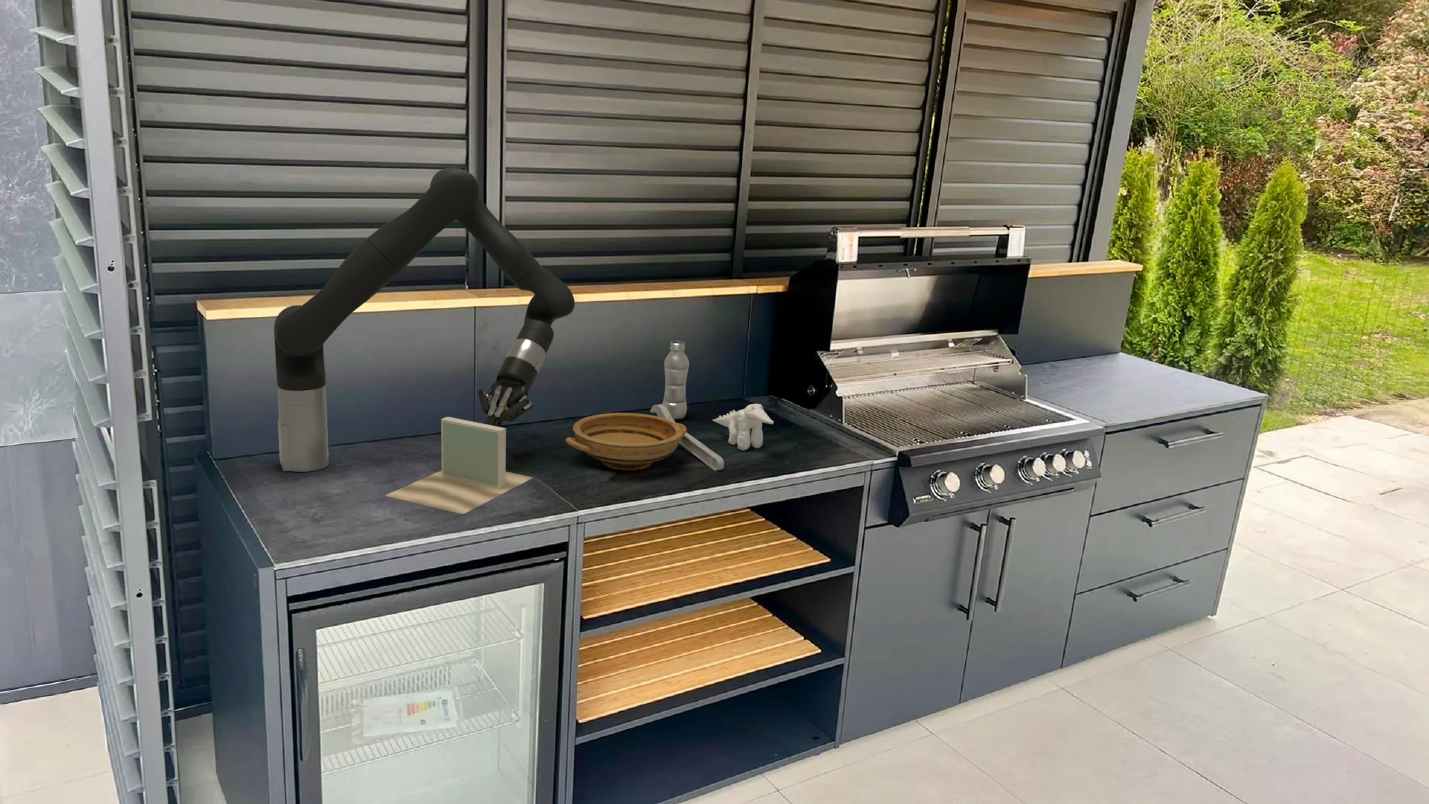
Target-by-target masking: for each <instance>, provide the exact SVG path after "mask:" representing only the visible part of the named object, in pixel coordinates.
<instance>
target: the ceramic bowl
mask: <svg viewBox="0 0 1429 804" xmlns="http://www.w3.org/2000/svg"><path fill="white" fill-rule="evenodd" d="M572 430H573V433H574V437H570V436H569V437H567V438H566V439H565V443H566V444H567V445H569V446H571V447H572V448H574V449H577V450H579V451H582V452H584V453H585V454H586V455H587V456H590V457H592V458H593V459H596V460H598V461H601V463H602V464H603V466H606V467H607V466H608V467H607V468H610V469H614V470H618V469H620V471H639V470H638V469H640V470H644V469H647V468H649V467H651V466H652V464H653V463H655V462H657V461H661V460H664V459H665V458H668V457H669V456H671V455H672V454H673V453H674V452H675V450H676V449H677V447H678V446H679V442H680V438H682V437H683V436H684V435H685V434H686V432H687V431H688V429H687V427H686V425H684V424H682V423H679V422H675V423H674V422H672V421H670V420H667V419H664V418H660V417H658V416H656V415H650V414H645V413H644V414H643V413H634V412H633V413H632V412H614V413H613V412H612V413H611V412H610V413H601V414H595V415H590V416H586V417H583V418H581V419H579V420H578V421H576V422H574V424H573V425H572ZM687 433H688V432H687Z"/></svg>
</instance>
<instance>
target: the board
mask: <svg viewBox="0 0 1429 804" xmlns="http://www.w3.org/2000/svg"><path fill="white" fill-rule="evenodd" d="M532 479H534V477H533V476H529V475H524V474H519V473H514V472H511V471H506V472H505V486H504V487H502V488H500V489H499V488H495V487H490V486H486V485H482V484H477V483H473V482H468V481H464V480H459V479H455V478H450V477H446V476H442V469H441V470H440V471H437V472H434V473H433V474H430V475H428V476H426V477H423V478H422V479H418V480H417V481H414V482H412V483H410V484H408V485H405V486H403V487H401V488H399V489H396V490H395V491H392V492H390V493H387V494H386V495H384V497H389V498H393V499H396V500H401V501H405V502H408V503H413V504H417V505H421V506H426V507H429V508H434V509H438V510H441V511H442V510H443V511H446V512H449V513H450V512H451V513H454V514H458V515H464V514H466V513H468V512H470V511H472V510H474V509H476V508H478V507H480V506H482V505H484V504H486V503H488V502H489V501H492V500H493V499H495V498H497V497H499V496H501V495H504V494H505V493H507V492H509V491H511V490H513V489H515V488H516V487H518V486H520V485H522V484H524V483H527V482H529V481H530V480H532Z"/></svg>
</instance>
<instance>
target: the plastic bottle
mask: <svg viewBox="0 0 1429 804" xmlns="http://www.w3.org/2000/svg"><path fill="white" fill-rule="evenodd" d="M669 349H670V352H669V353H668V354H667V355H666V357H665V359H664V365H663V367H664V377H665V378H664V379H665V380H664V382H665V385H664V393H663V394H664V396H663V401H662V403H661V404H662V405H664V406H665V407H666V408H667V410H668V412H669V413H670V415H671V417H672V418H673V420H682V419H684V417H685V416H686V415H687V411H688V407H687V406H688V405H687V397H686V394H687V392H686V386H687V377H688V373H689V367H690V361H689V358H688V356H687V355H686V353H685V352H684V351H685V350H686V343H685V341H682V340H672V341H670V347H669Z"/></svg>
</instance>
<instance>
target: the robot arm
mask: <svg viewBox="0 0 1429 804" xmlns="http://www.w3.org/2000/svg"><path fill="white" fill-rule="evenodd" d="M456 221H457V222H458V223H459V224H461V226H463V227H464V228H465V229H466V230H467V231H468V233H470V234H471V236H472V237H473V238H474V239H475V240H476V241H477V242H478V243H479V245H480V246H482V248H483V250H484V251H485V252H486V253H487V254H488V255H489V256H490V258H491V259H492V261H494V262H495V264H496V266H497V267H498V268H499V269H500V270H501V271H502V272H503V273H504V274H505V276H506V277H507V278H508V279H509V280H510V282H511V283H513V285H514V286H515V287H516V288H517V289H519V290H520V291H527V292H528V291H529V292H531V293H533V296H532V297H531V299H530V300H529V302H528V304H527V308H526V311H525V316H524V320H523V321H524V322H523V326H522V327H521V328H520V331H519V333H518V334H517V337H516V339H515V341H514V342H513V344H512V345H511V346H510V348H509V350H508V352H507V355H506V357H505V358H504V360H503V362H502V364H501V366H500V368H499V370H498V372H497V375H496V380H495V381H494V382H493V383H492V384H491V385H490V388H488V389H486V390H483V389H479V390H478V391H477V394H478V395H477V396H478V399H479V402H480V406H481V407H480V408H481V411H482V412H483V413H484V415H485V416H486V420H485V422H484V424H486V425H491V426H496V427H501V425H502V424H504V423H505V422H508V423H511V422H513V421H514V420H516V419H518V418H519V417H521V416H522V415H524V414H525V413H526V412H529V411H530V410H531V409H533V407H534V404H533V403H532V402H531V400H530V399H529V398H528V397H529V391H530V390H531V389H532V387H533V385H534V382H535V380H536V379H537V376H538V375H539V372H540V370H541V368H542V365H543V364H544V360H545V357H546V355H547V352H548V351H549V349H550V347H551V345H552V343H553V341H554V336H555V333H554V330H553V328H552V325H553V323H554V321H555V320H556V321H557V320H559V319H562V318H564V317H567V316H568V315H570V314H571V313H572V312H573V311H574V309H575V306H576V302H575V296H574V295H573V292H572V291H571V289H570V287H569V286H568V285H566V284H565V283H564V282H563V281H562V280H561V279H560V278H558V277H557V276H555V275H554V274H553V273H552V272H551V271H549V270H547V269H546V268H544V267H543V266H542V265H541V264H540V263H539V261H537V259H536V258H535V257H534V256H533V254H532V253H531V252H530V251H529V250H528V249H527V248H526V246H525V245H524V244H523V243H522V242H521V241H520V240H519V239H518V238H517V237H516V236H515V235H514V234H513V233H512V232H511V231H509V229H507V227H505V226H504V225H503V224H502V223H501V222H500V220H498V219H497V217H496V216H495V215H494V214H493V213H492V212H491V211H490V209H489V208H488V206H487V205H486V204H485V203H484V201H483V200H482V198H481V196H480V186H479V182H478V181H477V179H476V177H475V176H474V175H473V174H472V173H471V172H469V171H467V170H465V169H463V168H459V167H445V168H442V169H441V170H438V171H437V172H436V173H435V174H434V175H433V176H432V178H431V180H430V185H429V188H428V189H427V190H426V192H425V193H423V195H422V196H421V197H420V198H419V199H418V200H417V201H416V202H415V203H414V204H413V205H412V206H410V208H408V209H407V210H406V211H404V212H403V213H402V214H400V215H398V216H396V217H395V218H393V219H391V220H390V221H388V222H387V223H386V224H385V223H384V225H383V226H380V228H378V229H377V230H375V231H374V232H372V234H370V235H368V237H367V238H365V239H364V240H363V241H362V242H361V243H359V245H357V246H356V248H354V249H353V250H352V251H351V253H350V254H349V255H348V256H347V257H346V258H344V260H343V262H342V263H341V264H340V265H339V266H338V268H337V269H336V271H335V272H334V274H333V275H331V277H330V279H329V280H328V282H327V283H325V285H324V286H323V287H322V288H321V289H320V291H318V292H317V293H316V294H315V295H313V297H311V298H310V299H308V300H307V301H306V302H305V303H303V304H296V305H295V304H293V305H291V306H287V307H285V308H284V309H282V310H281V311H280V312H279V313H278V315H277V316H276V318H275V320H274V323H273V338H274V355H275V370H276V371H275V372H276V374H275V375H276V386H277V404H278V406H277V407H278V419H277V429H278V451H279V463H280V466H281V468H282V471H283V472H295V473H296V472H299V473H302V472H303V473H304V472H305V473H307V472H314V471H318V470H321V469H322V470H323V469H324V468H326V467H327V466H329V454H330V453H329V439H328V437H329V434H328V432H329V431H328V407H327V385H326V384H327V382H326V381H327V380H326V367H325V357H324V353H325V352H324V344H325V343H326V341H327V340H328V339H329V337H331V336H332V334H333V333H334V332H335V331H336V330H337V329H338V327H340V325H342V323H344V321H346V319H347V318H348V317H349V316H350V315H351V314H352V313H354V312H355V311H356V310H358V309H359V308H360V307H361V306H362V305H364V304H365V303H367V302H368V300H370V299H371V298H372V297H374V296H375V295H376V294H377V293H379V292H380V291H381V290H382V289H383V288H384V287H386V286H387V285H388V284H389V283H390V282H392V280H394V279H395V278H396V277H397V276H398V275H399V274H400V273H401V272H402V271H403V270H404V269H405V268H407V266H408V265H410V263H411V262H412V261H413V260H414V259H415V258H416V257H417V256H419V254H421V252H422V251H423V249H425V248H426V246H427V245H428V244H429V243H430V242H431V241H432V240H433V239H434V238H435V237H437V235H438V234H440V233H441V232H442V231H443V230H444V229H446V228H447V227H449V226H450V225H451V224H453V223H454V222H456ZM490 401H491V402H490Z"/></svg>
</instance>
